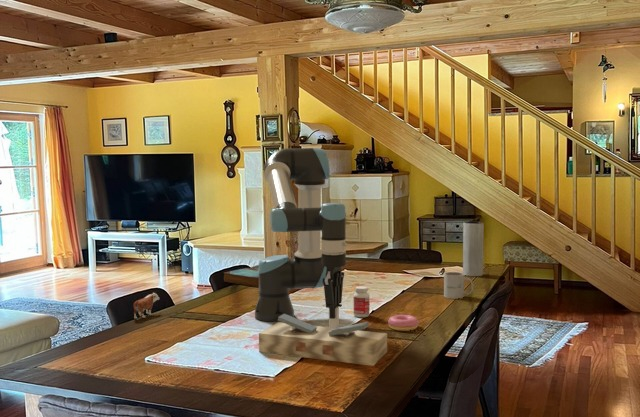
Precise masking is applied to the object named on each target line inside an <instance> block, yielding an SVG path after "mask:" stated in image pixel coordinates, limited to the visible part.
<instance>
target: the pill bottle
mask: <svg viewBox="0 0 640 417" xmlns="http://www.w3.org/2000/svg"><path fill="white" fill-rule="evenodd" d="M368 289H369V288H368V286H361V285H360V286H355V289H354V290H355V292H354V294H353V316H354V317H356V318H367V317H369V316H370V294H369V293H368V291H369V290H368Z"/></svg>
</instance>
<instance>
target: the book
mask: <svg viewBox="0 0 640 417" xmlns="http://www.w3.org/2000/svg"><path fill="white" fill-rule="evenodd" d="M258 271H259V268H252V267H246V268H239V269H235V270H229V271H226V272H225V271H224V272H223V274H224V275H223V280H224V283H230V284H235V285H243V286H247V287H256V288H259V273H258Z"/></svg>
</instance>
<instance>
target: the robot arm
mask: <svg viewBox="0 0 640 417" xmlns="http://www.w3.org/2000/svg"><path fill="white" fill-rule="evenodd" d="M330 172H331V171H330V162H329V158H328V155H327V152H326V151H325V150H324V149H323V148H315V147H305V148H304V147H302V148H301V147H300V148H288V147H287V148H281V149H278V150H277V151H275V152H273V153H272V154H270V156H269V157H268V158H267V160H266V161H265V163H264V165H263V177H264V179H265V181H266V182H267V183H268V187H269V191H270V196H271V201H272V206H273V208H271V210H270V212H269V224H270V225H269V226H270V230H271V231H272V232H275V233H293V232H297V235H298V238H297V241H298V242H297V243H298V244H297V246H298V248H297V250H296V251H295V252H294V253H293V256H294V257H293V258H290V257H289V255H288V254H279V255H278V254H275V255H270V256H267V257H264V258H262V259H260V261H259V262H258V269H259V271H258V273H259V287H258V299H257V303H256V306H255V310H254V318H255V320H258V321H263V322H279V321H278V317H279V316H281V315H283V314H287V315H289V316H291V317H294V318H295V309H294V306H293V303H292V300H291V298H290V290H298V289H299V290H301V289H316V288H317V289H319V288H323V290H324V291H323V292H324V300H325V301H324V302H325V308H327V309H328V327H329V328H333V329H338V328H340V313H339V312H340V309H339V308H340V307H341V308H342V301H343V287H344V286H343V284H344V277H345V272H343V271H342V267H344V266H346V264H347V261H346V259H347V258H346V257H347V256H346V253H345V252H346V247H347V246H348V243H347V242H346V230H347V228H346V222H347V220H346V219H347V218H346V217H347V213H346V205H345V203H342V202H325V203H322V201H321V200H322V196H321V195H322V188H323V187H324V186H325V185H326V180H329V179H330V177H331V176H330ZM291 181H294V182H293V183H294V186H295V187H296V188H297V189H298V190H297V191H298V194H297V195H298V197H297V198H298V200H297V201H298V204H297V202H296V199H295V194H294V192H293V188H292V184H291Z"/></svg>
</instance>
